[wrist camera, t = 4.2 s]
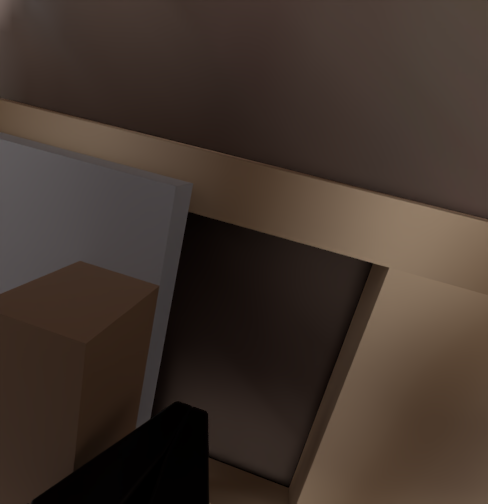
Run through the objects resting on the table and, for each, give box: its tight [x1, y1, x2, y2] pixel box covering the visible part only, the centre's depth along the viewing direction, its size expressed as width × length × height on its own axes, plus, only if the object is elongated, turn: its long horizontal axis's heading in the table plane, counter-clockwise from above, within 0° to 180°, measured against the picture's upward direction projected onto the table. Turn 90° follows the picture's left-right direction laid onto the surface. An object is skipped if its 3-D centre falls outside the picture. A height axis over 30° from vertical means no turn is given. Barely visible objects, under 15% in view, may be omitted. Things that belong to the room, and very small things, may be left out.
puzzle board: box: [0, 98, 488, 504], centre depth 12 cm, size 17×23×2 cm
